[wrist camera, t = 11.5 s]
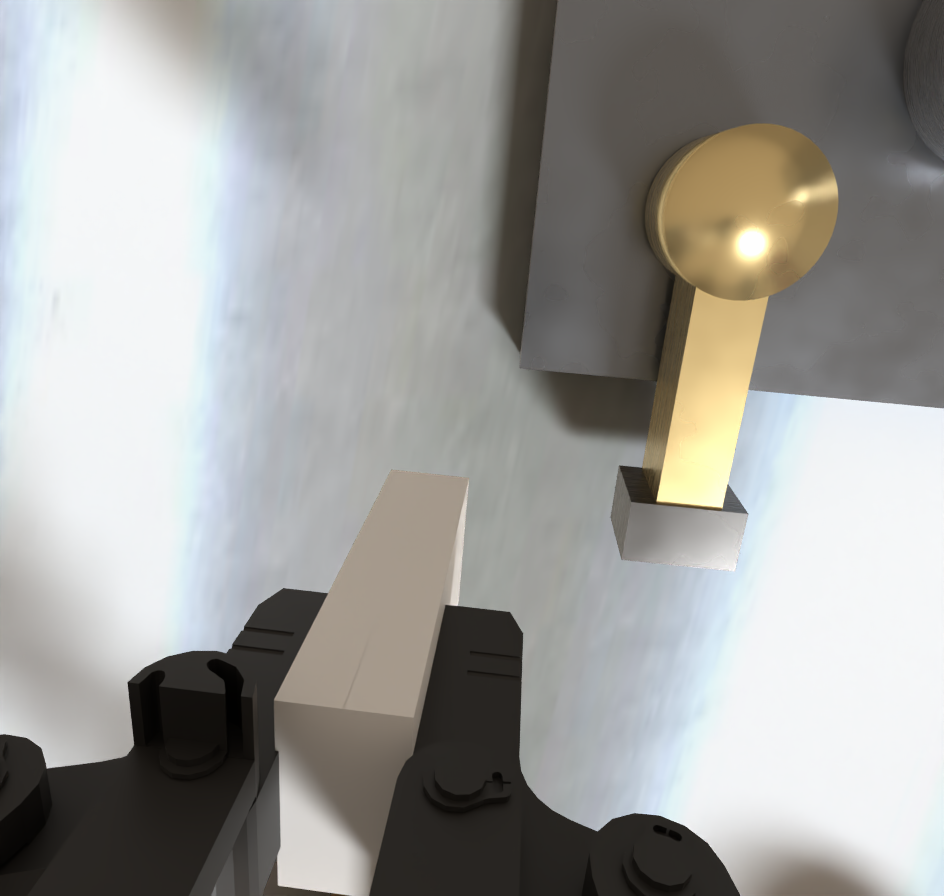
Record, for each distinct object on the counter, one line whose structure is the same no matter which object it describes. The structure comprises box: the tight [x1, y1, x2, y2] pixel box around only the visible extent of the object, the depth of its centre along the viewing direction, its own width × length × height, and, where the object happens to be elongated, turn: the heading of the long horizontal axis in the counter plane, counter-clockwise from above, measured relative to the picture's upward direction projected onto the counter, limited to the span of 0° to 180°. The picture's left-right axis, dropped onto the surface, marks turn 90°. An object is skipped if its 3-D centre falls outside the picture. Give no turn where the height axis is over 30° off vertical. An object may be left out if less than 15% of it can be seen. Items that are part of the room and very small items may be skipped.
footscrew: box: [611, 123, 838, 571], centre depth 20 cm, size 12×4×3 cm, turn 175°
